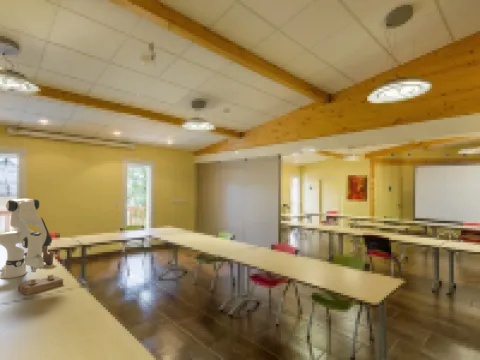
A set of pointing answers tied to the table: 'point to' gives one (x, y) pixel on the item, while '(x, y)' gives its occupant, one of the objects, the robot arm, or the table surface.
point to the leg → (32, 282)
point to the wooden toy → (47, 256)
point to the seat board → (40, 285)
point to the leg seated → (50, 277)
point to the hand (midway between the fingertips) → (33, 272)
